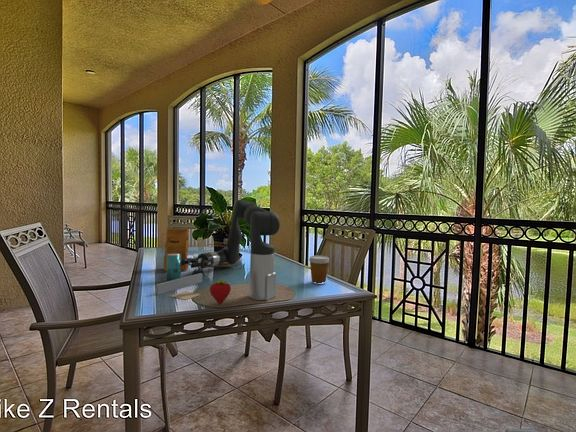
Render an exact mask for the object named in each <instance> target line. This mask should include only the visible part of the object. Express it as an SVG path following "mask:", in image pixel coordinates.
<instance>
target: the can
mask: <svg viewBox="0 0 576 432" xmlns="http://www.w3.org/2000/svg"><path fill="white" fill-rule="evenodd" d="M181 272H182V271H181V254H179V253H170V254H168V255H167V271H166V282H168V281H172V280H175V279H179V278H182V276H181V275H182V273H181Z"/></svg>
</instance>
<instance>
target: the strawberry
mask: <svg viewBox="0 0 576 432" xmlns="http://www.w3.org/2000/svg"><path fill="white" fill-rule="evenodd" d="M220 278H221V279H220V280H218V281H217V280H216V281H213V284H211V285H210V287H209V291H210V295H211V296H212V297H213V299H214V300H215V301H216V302H217V303H218V304H220V305H221V304H223V302H224V301H225V300H226V299H227V298H228V296H229V295H230V292H231V289H232V287H231V285H230V284H229V281H228V280H227V281H226V280H223V278H222V276H220Z"/></svg>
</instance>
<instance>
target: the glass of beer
mask: <svg viewBox="0 0 576 432" xmlns="http://www.w3.org/2000/svg"><path fill="white" fill-rule="evenodd" d="M308 260H309V265H310V275H311V276H310V277H311V283H312V282H316V283H322V282H325V281H327V275H328V268H329V263H330V258H329V257H328V256H327V255H326V256H325V255H311V256H310V257H309V259H308Z"/></svg>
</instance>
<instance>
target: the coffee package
mask: <svg viewBox="0 0 576 432" xmlns="http://www.w3.org/2000/svg"><path fill="white" fill-rule="evenodd" d="M165 235H166V236H165V237H166V238H165V245H164V248H165V249H164V256H163V271H164V272H167V255H168V254H170V253H179V254H181V261H182V259H186V258H188V252H189V228H188V227H185V228H172V227H171V228H170V227H167V228H166V234H165ZM188 268H189V265H182V266H181V272H186V271H187V270H188Z"/></svg>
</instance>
